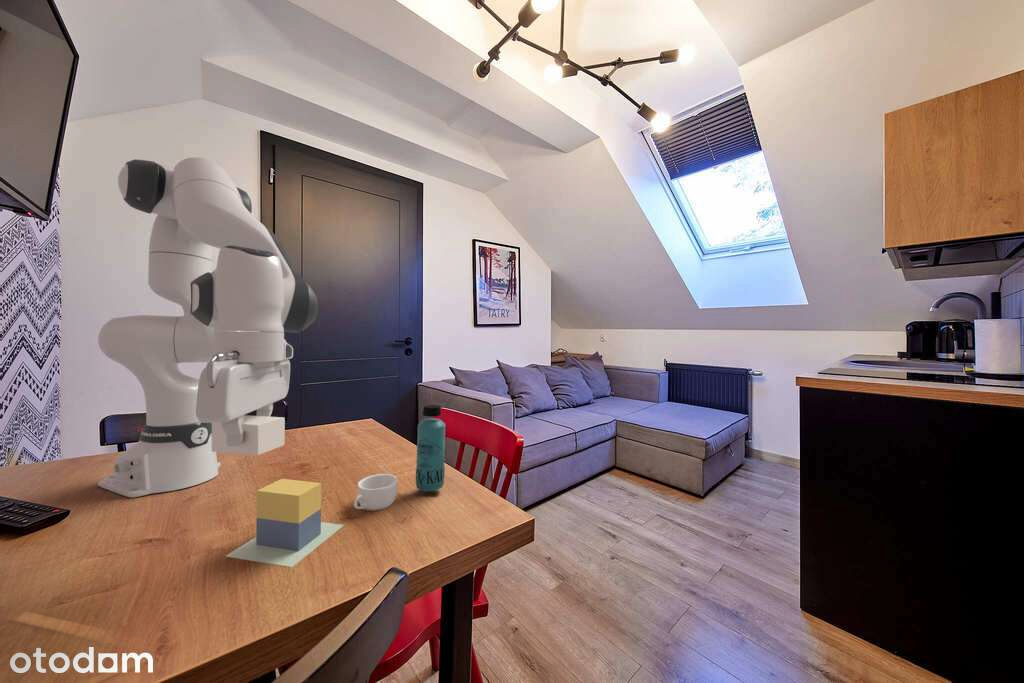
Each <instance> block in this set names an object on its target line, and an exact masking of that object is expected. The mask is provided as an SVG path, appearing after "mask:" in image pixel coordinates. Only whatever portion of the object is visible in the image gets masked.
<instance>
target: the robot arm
mask: <svg viewBox="0 0 1024 683" xmlns="http://www.w3.org/2000/svg"><path fill="white" fill-rule="evenodd" d="M117 176H118V177H117V185H118V189H119V191H120V194H121V195H122V197H123V201H124V202H125V203H126V204H127V205H128V206H129V207H130V208H133V209H135V210H138V211H141V212H143V213H147V214H149V215H150V214H154V215H156V216H155V218H154V221H153V224H152V229H151V233H150V238H149V246H148V277H147V278H148V279H147V280H148V281H147V284H148V286H149V289H150V290H151V291H152V292H153V293H154V294H156V295H157V296H159V297H161V298H162V299H165V300H168V301H169V302H172V303H175V304H177V305H179V306H181V307H182V310H183V315H180V316H174V315H173V316H172V315H150V314H149V315H148V314H147V315H146V314H145V315H144V314H140V315H139V314H138V315H130V316H121V317H114V318H111V319H109V320H107V322H106V323H105V324H104V325H102V327H101V328H100V331H99V332H98V335H97V336H98V337H97V343H98V347H99V348H100V350H101V351H102V354H104V355H105V356H106V357H107V358H109V359H110V360H112V361H114V362H116V363H118V364H120V365H121V366H123V367H125V368H126V369H127V370H128V371H129V372H131V373H132V375H134V377H135V378H136V379H137V381H138V382H139V384H140V385H141V387H142V390H143V393H144V394H143V395H144V400H145V402H144V403H145V413H146V414H145V415H146V417H145V418H146V424H144V425H140V426H137V428H138V430H137V432H140V436H139V439H138V441H137V442H136V443H134V444H132V446H131V447H130V448H128V449H127V450H126V451H124V452H123V453H121V454H120V455H118V457H116V459H115V462H114V467H113V468H114V469H113V470H114V472H113V474H112V475H110V476H108V477H105V478H103V479H101V480H99V481H98V484H97V487H99V486H100V487H99V488H102V489H105V490H108V491H111V492H113V493H116V494H119V495H121V496H124V497H126V498H137V497H142V496H146V495H150V494H151V495H152V494H158V493H166V492H173V491H177V490H181V489H182V490H183V489H185V488H190V487H193V486H196V485H200V484H203V483H206V482H207V481H210V480H212V479H213V478H215V477H216V476H218V475H219V468H221V466H222V465H221V462H220V461H218V457H217V452H212V423H219V422H221V425H222V427H223V429H224V431H225V433H226V435H227V445H228V446H239V445H241V444H243V443H245V441H246V438H245V437H246V431H244V432H243V429H242V425H241V422H243V415H248V414H249V413H252V412H254V411H256V415H255V416H267V417H272V416H271V415H272V413H273V409H274V403H276V402H279V401H281V400H283V399H285V398H286V397H287V395H288V392H289V389H290V380H291V379H290V376H291V362H290V360H291V359H292V358H293V357H294V348H293V346H292V345H291V344H290V343H288V342H287V340H286V339H285V333H295V334H298V333H300V332H302V331H305V329H307V328H308V327H309V326H310V325H312V324H313V323H314V321H315V320H316V319H317V316H318V313H319V303H318V302H319V301H318V298H317V295H316V293H315V292H314V290H313V289H312V288H311V286H310V285H309V284H308V283H307V281H306V280H304V278H303V277H302V276H301V274H300V273H299V272H298V270H297V268H296V266H295V265H294V264H293V261H291V259H290V257H289V255H288V254H287V252H286V250H285V248H284V246H282V244H281V241H280V240H279V239H278V237H277V236H276V235H275V233H274V232H273V231H272V230H271V229H270V228H268V227H267V226H266V225H265V224H263V223H262V222H260V221H259V220H258V219H257V218H256V217H255V216H254V215H253V205H252V200H251V199H252V198H250V196H249V194H248V192H246V191H244V190H243V189H241V188H240V187H238V186H236V184H235V182H234V181H233V179H232V178H231V177H230V175H229V173H228V172H226V170H225V169H224V168H223V167H221V165H220V164H218V163H216V162H214V161H212V160H210V159H207V158H204V157H203V158H202V157H193V156H192V157H187V158H184V159H182V160H180V161H179V162H178V163H176V165H175V166H174V167H171V166H169V165H168V166H167V165H163V164H159V163H156V162H155V161H154V160H153V161H151V160H146V159H132V160H129V161H126V162H125V164H124V166H123V167H122V168H121V170H120V171H119V173H118V175H117ZM213 248H216V249H219V251H218V257H217V262H216V267H215V269H214V270H213ZM181 363H182V364H183V363H184V364H185V363H186V364H187V363H189V364H190V363H206V366H205V367H203V369H202V370H201V373H200V375H199V379H198V378H196V377H192V376H190V375H186V374H184V373H182V371H181V370H180V368H179V365H178V364H181ZM139 428H140V429H139Z"/></svg>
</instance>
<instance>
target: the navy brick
mask: <svg viewBox="0 0 1024 683" xmlns="http://www.w3.org/2000/svg"><path fill="white" fill-rule="evenodd" d="M321 522H322V508H321V509H320V510H318V511H317V512H315V513H314V514H312V515H311V516H309V517H308V518H306V519H305V520H303V521H302V522H301V523H299V524H298V523H291V522H284V521H276V520H269V519H262V518H257V517H256V525H255V526H256V527H255V528H256V529H255V530H256V532H255V533H256V534H255V535H256V536H255V537H256V545H261V546H268V547H274V548H281V549H287V550H294V551H299V550H301V549H302V548H303V547H305V546H306V545H307V544H309V543H310V542H311V541H312V540H314V539H315V538H316V537H318V536H319V535H320V534H321Z"/></svg>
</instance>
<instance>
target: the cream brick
mask: <svg viewBox="0 0 1024 683" xmlns="http://www.w3.org/2000/svg"><path fill="white" fill-rule="evenodd" d="M285 419H286V418H285V417H279V416H270V417H267V416H256V415H249V414H245V415H243V422H241V425H242V429H243V432H244V431H246V437H245V438H246V441H245V443H243V444H241V445H239V446H228V445H227V435H226V433H225V431H224V429H223V427H222V425H221V422H219V423H212V433H211V436H212V452H216V453H223V454H224V453H227V454H238V455H251V456H260V455H262V454H264V453H268V452H270V451H272V450H275V449H278V448H280V447H283V446H285V437H286V436H285V434H286V432H285V431H286V430H285V429H286V428H285V425H286V420H285Z"/></svg>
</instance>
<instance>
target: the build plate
mask: <svg viewBox="0 0 1024 683" xmlns="http://www.w3.org/2000/svg"><path fill="white" fill-rule="evenodd" d="M344 526H345V525H344V524H340V523H339V524H338V523H332V522H324V521H321V534H320V535H319V536H318V537H316V538H315V539H314V540H312V541H311V542H310V543H309V544H307V545H306V546H305V547H303V548H302V549H301V550H299V551H294V550H287V549H281V548H274V547H268V546H261V545H256V536H255V537H254V538H252V539H250V540H249V541H247V542H246V543H243V545H241V546H239V547H237V548H236V549H234V550H233V551H231V552H229V553H228V554H226V555H225V557H226V558H227V557H228V558H233V559H238V560H239V559H240V560H245V561H251V562H257V563H263V564H268V565H274V566H282V567H286V568H293V567H294V566H295V565H297V564H298V563H299V562H300V561H302V560H303V559H304V558H305V557H307V556H308V555H309V554H310V553H312V552H313V551H314V550H315V549H317V548H318V547H319V546H320V545H322V544H323V543H325V541H326V540H328V539H329V538H330V537H331V536H333V535H334V534H335V533H337V532H338V531H339V530H340V529H342V528H343V527H344Z"/></svg>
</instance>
